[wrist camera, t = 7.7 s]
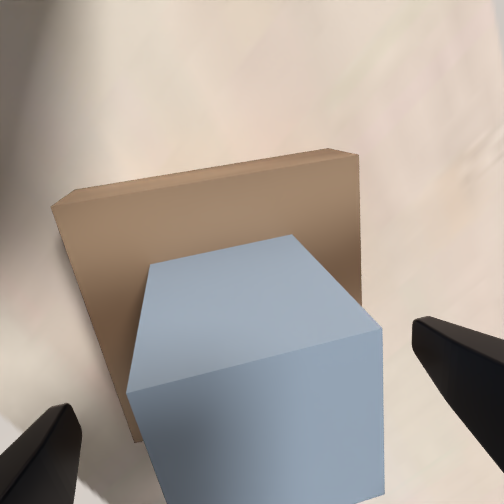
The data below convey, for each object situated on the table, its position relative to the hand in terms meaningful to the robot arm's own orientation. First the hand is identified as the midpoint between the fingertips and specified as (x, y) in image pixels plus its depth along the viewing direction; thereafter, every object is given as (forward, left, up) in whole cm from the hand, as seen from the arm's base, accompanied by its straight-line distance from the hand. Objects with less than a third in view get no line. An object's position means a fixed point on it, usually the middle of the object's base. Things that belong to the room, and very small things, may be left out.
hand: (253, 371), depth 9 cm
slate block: (0, 0, -3) cm, 3 cm away
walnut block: (0, 0, -6) cm, 6 cm away
